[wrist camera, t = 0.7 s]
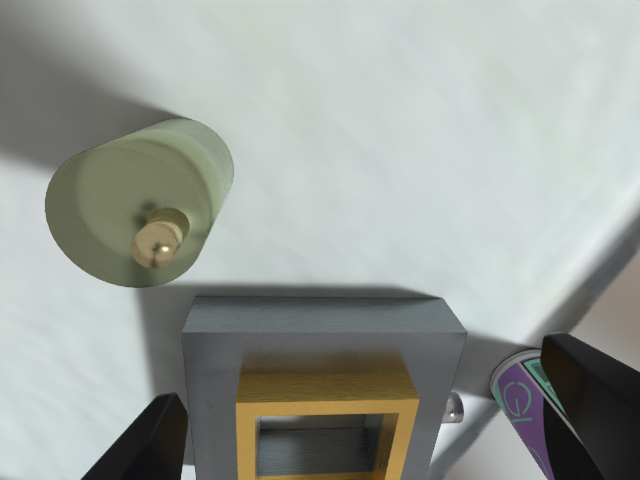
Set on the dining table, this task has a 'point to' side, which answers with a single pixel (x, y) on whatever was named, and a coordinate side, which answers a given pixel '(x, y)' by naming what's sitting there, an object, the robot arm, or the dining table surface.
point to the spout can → (141, 202)
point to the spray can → (541, 418)
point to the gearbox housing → (319, 385)
